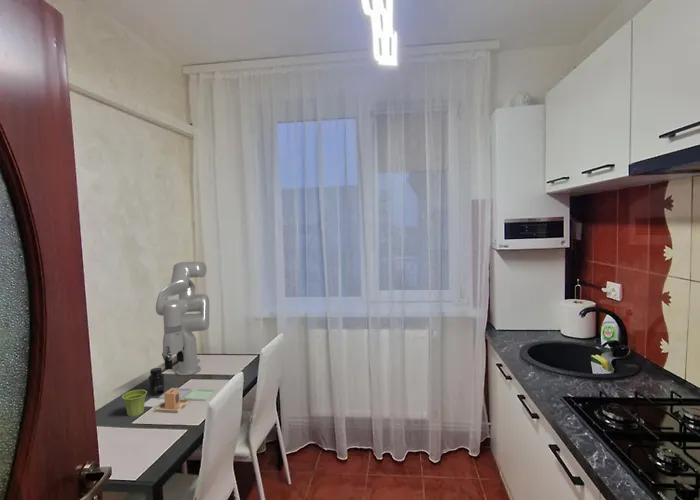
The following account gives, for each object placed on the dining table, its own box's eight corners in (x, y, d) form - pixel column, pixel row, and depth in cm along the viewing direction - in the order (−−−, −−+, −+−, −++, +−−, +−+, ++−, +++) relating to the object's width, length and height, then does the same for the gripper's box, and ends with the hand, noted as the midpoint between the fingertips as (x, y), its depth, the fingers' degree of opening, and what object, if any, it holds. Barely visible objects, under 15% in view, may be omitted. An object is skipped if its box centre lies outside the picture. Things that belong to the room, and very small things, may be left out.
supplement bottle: (158, 397, 190) (157, 372, 189) (145, 396, 191) (144, 371, 190) (168, 391, 197) (166, 367, 196) (155, 390, 198) (154, 366, 197)
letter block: (170, 404, 181) (170, 388, 181) (180, 404, 180) (179, 389, 180) (165, 409, 177) (164, 393, 176) (174, 409, 176) (174, 393, 176)
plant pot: (153, 410, 177) (151, 391, 176) (135, 420, 168) (134, 400, 167) (136, 407, 180) (135, 388, 179) (117, 417, 171) (116, 397, 170)
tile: (151, 399, 188) (151, 398, 188) (167, 400, 187) (167, 398, 187) (140, 407, 180) (140, 405, 180) (157, 407, 179) (157, 406, 179)
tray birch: (168, 402, 184) (168, 399, 184) (190, 403, 183) (190, 399, 183) (154, 413, 174) (154, 409, 174) (177, 414, 173) (177, 410, 173)
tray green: (195, 391, 196) (194, 388, 195) (216, 392, 194) (215, 389, 194) (183, 401, 185) (183, 398, 185) (205, 402, 184) (205, 399, 184)
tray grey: (171, 390, 197) (171, 387, 197) (192, 391, 196) (192, 388, 196) (158, 400, 187) (158, 397, 186) (180, 401, 185) (180, 398, 185)
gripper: (175, 324, 198) (177, 358, 199) (154, 334, 181) (156, 371, 182) (190, 324, 197) (191, 359, 198) (169, 334, 180) (171, 372, 181)
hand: (174, 365), depth 190 cm, fingers open, 9 cm apart
